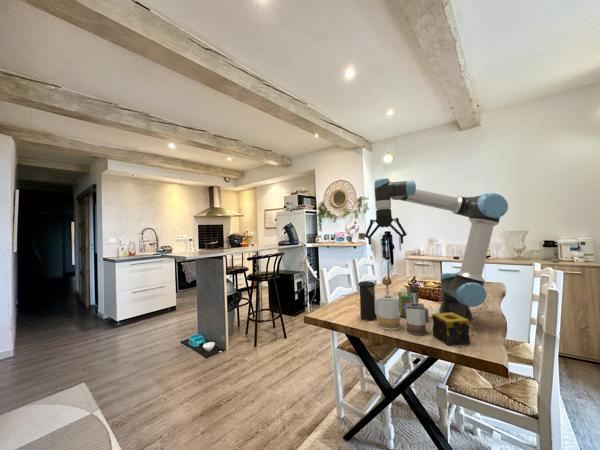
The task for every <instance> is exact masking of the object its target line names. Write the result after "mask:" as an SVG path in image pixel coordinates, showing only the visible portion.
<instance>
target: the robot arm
mask: <svg viewBox="0 0 600 450" xmlns="http://www.w3.org/2000/svg"><path fill="white" fill-rule="evenodd" d="M373 184H374V188H373V189H374V200H375V201H374V203H375V205H374V206H375V209H376V210H375V217H376V218H375V219H369V225H368V227H367V230H366V232H365V235H364V238H366V239H368V245H370V250H371V252H374V243H373V242H374V241H373V238H372V237H373V236H374V234H375V233H376V232H377V231H378V229H380V228H388V227H390V228H391V229H392V230H393V231H394V232H395V233H396V235H398V236H399V237H398V246H399V251H402V244H404V238H405V237H406V236H407V235H408V234H407V232H406V231H405V229H404V227H403V226H402V224H401V223H400V219H399V217H395V218H393V216H392V209H391V208H392V202H391V201H392V200H394V201H398V200H399V201H402V202H408V203H413V204H417V205H420V206H421V205H423V206H426V207H430V208H436V209H441V210H445V211H449V212H451V213H452V214H453V215H457V216H458V215H459V216H462V217H466V218H469V219H468V220H469V222H470V223H471V225H470V229H469V235H468V238H467V243H466V246H465V251H464V254H463V258H462V263H461V266H460V267H461V268H460V270H459V271H457V272H451V273H449V272H447V273H445V272H444V273H441V275H440V279H439V280H440V288H441V289H440V290H441V302H440V307H439V310H438V313H450V312H453V313H455V314H457V315H459V316H461V317H463V318H465V319H468V320H469V322H470V321H472V320H473V318H474V317H473V313H472V310H471V308H474V307H478V306H480V305H482V304H483V303H485V301H486V299H487V290H486V289H485V287H484V285H485V279H484V277H483V272H484V268H485V264H486V259H487V255H488V250H489V247H490V243H491V238H492V236H493V234H492V233H493V230H494V227H496V226H498V225H499V223H500V220H501V217H503V216H505V215H506V214H507V212H508V210H509V203H508V201H507V199H506V198H505V197H504V196H503V195H501V194H499V193H495V192H490V193H489V192H488V193H483V194H480V195H475V196H470V197H468V196H460V195H458V196H457V197H455V196H450V195H446V194H441V193H436V192H432V191H427V190H420V189H417V186H416V181H414V180H404V181H403V180H402V181H394V182H393V181H391V180H390V178H385V177H383V178H377V179H376V180H374V183H373ZM392 222H394V223H396V224H397V226H398V228H399V230H400V231H401V232H402V233H401V232H400V231H399V230H398V229H397V228H396V227H395V226H394V225H393V224H392ZM375 223H376V224H377V225H376V226H375V228H374V229H373V230H372V226H373V225H374V224H375ZM371 230H372V231H371ZM370 231H371V233H370Z"/></svg>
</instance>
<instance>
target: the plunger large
mask: <svg viewBox="0 0 600 450" xmlns="http://www.w3.org/2000/svg"><path fill="white" fill-rule="evenodd" d="M381 282H382V285H384V286H385V292H386V295H387V298H389V295H390V294H389V293H390V292H389V286H390V285H392V279H391V278H390V277H388V276H384V277H383V278H382V279H381ZM388 302H389V301H388Z"/></svg>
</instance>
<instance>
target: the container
mask: <svg viewBox="0 0 600 450" xmlns="http://www.w3.org/2000/svg"><path fill="white" fill-rule="evenodd" d="M357 285H358V287H359V308H360V311H359V312H360V315H359V316H360V319H361V320H363V321H375V320H377V319H378V317H377V316H378V315H377V314H375V301H374V300H375V299H376V293H375V285H376V284H375V282H373V281H370V280H365V281H364V280H363V281H360V282H358V284H357Z"/></svg>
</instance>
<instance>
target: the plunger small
mask: <svg viewBox="0 0 600 450" xmlns="http://www.w3.org/2000/svg"><path fill="white" fill-rule="evenodd" d="M408 288H409V289H410V293H413V299H414V306H416V297H415V294H417V293H418V292H419V290H420V289H419V286H418V285H417V284H416V283H413V284H412V283H411V284H410V285H409V287H408Z"/></svg>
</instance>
